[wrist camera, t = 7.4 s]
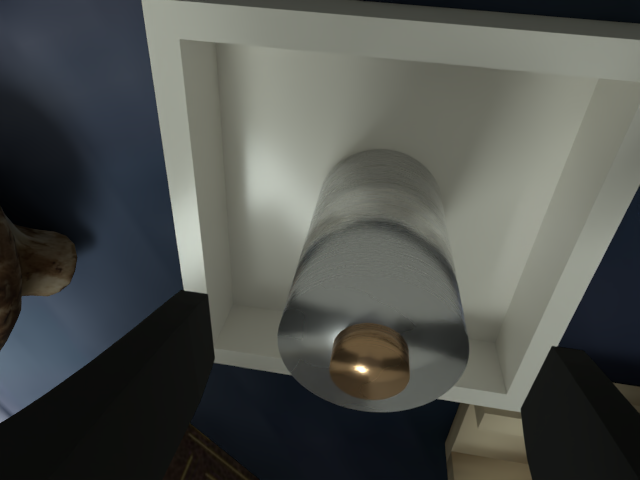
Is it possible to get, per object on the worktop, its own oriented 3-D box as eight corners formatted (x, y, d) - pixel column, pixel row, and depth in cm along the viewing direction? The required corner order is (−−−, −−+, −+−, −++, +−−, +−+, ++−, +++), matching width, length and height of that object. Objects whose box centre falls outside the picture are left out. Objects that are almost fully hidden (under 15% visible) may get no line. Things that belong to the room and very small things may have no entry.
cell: (454, 158, 14) (501, 315, 8) (427, 264, 16) (446, 449, 10) (323, 141, 14) (273, 280, 8) (314, 247, 16) (268, 418, 10)
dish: (643, 24, 11) (710, 45, 9) (506, 348, 18) (523, 412, 16) (192, -13, 13) (141, -3, 10) (220, 306, 19) (193, 359, 17)
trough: (784, 408, 18) (835, 470, 16) (703, 487, 21) (736, 546, 19) (475, 361, 19) (484, 413, 17) (444, 443, 22) (449, 494, 20)
